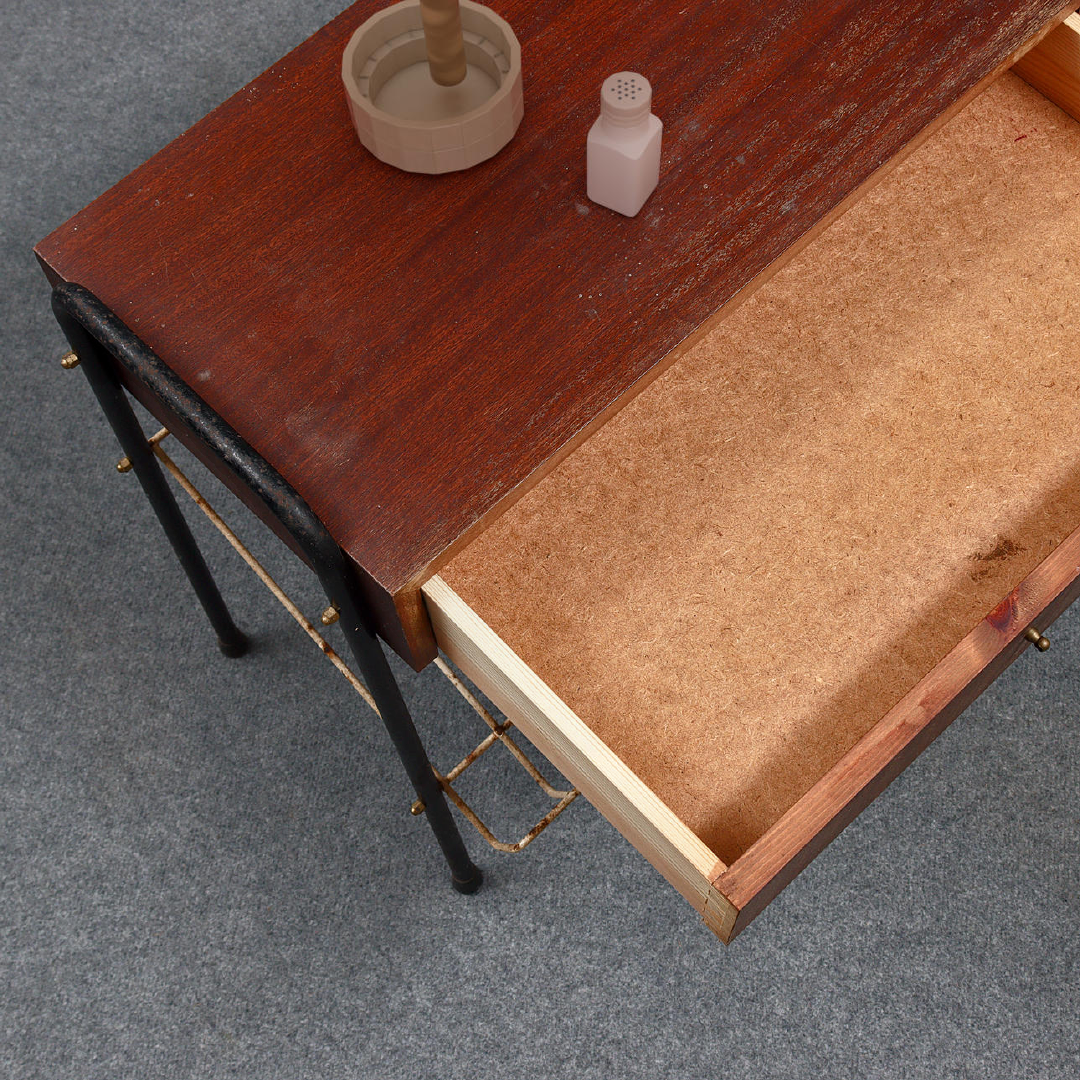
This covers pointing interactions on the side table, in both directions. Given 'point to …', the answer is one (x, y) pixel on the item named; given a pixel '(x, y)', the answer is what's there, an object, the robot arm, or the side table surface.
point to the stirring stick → (444, 41)
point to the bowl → (433, 90)
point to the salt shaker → (624, 145)
